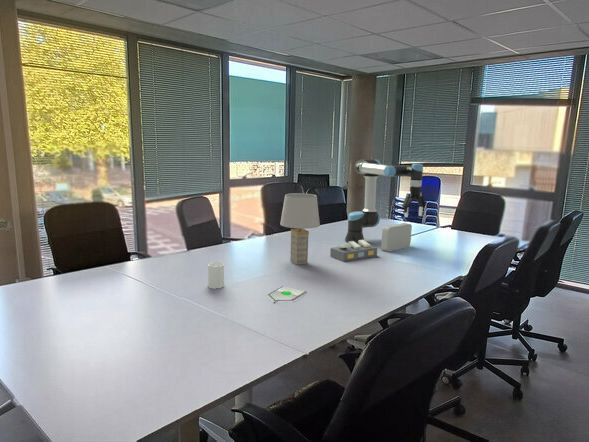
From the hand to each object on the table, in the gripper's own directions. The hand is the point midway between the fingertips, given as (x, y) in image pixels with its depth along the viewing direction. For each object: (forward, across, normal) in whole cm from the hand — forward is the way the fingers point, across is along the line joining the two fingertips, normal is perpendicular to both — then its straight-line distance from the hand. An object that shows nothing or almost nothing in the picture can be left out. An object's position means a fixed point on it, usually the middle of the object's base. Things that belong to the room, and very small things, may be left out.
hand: (413, 216), depth 288 cm
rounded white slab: (+28, +2, +16) cm, 32 cm away
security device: (+28, -120, -36) cm, 128 cm away
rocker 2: (+19, -41, +12) cm, 47 cm away
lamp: (+28, -83, +14) cm, 89 cm away
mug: (+28, -144, -6) cm, 147 cm away
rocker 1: (+19, -50, +11) cm, 55 cm away
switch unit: (+27, -41, +12) cm, 51 cm away
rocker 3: (+19, -32, +12) cm, 39 cm away
